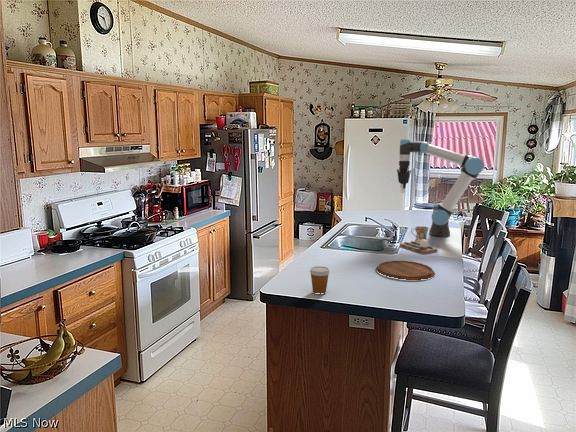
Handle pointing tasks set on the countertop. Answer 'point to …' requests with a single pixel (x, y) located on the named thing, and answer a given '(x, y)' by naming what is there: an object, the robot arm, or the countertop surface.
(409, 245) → the wooden tray
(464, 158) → the robot arm
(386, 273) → the cutting board
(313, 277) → the beer glass
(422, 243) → the fader knob
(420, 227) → the mug
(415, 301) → the countertop surface
